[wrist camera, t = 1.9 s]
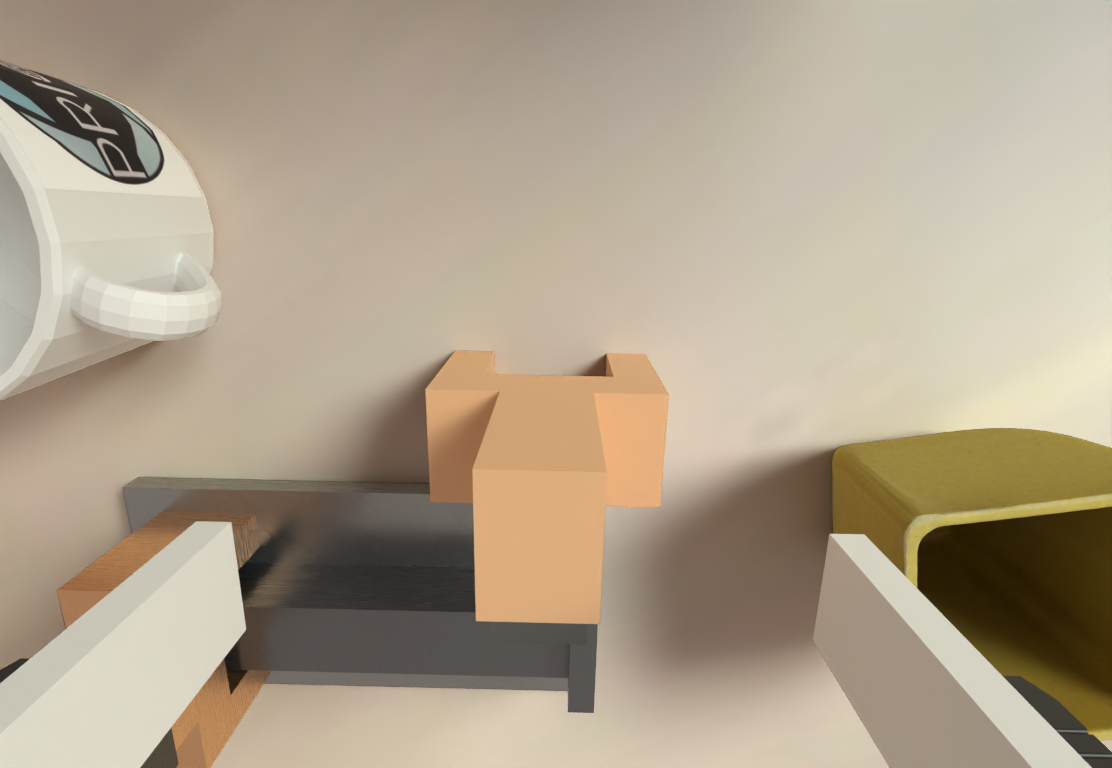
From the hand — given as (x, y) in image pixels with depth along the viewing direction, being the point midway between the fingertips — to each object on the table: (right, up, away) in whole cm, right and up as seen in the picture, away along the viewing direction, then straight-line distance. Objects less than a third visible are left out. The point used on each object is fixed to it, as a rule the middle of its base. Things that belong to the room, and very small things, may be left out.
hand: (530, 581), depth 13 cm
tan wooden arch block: (0, +4, +12) cm, 12 cm away
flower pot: (+15, 0, +13) cm, 20 cm away
